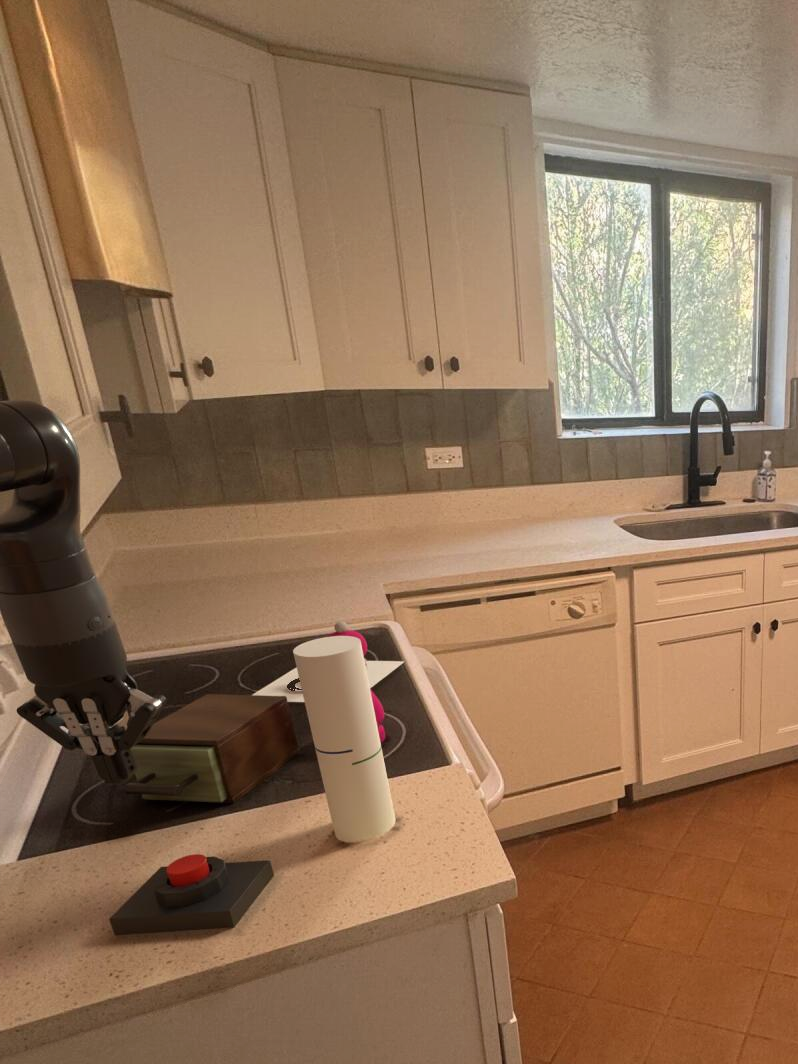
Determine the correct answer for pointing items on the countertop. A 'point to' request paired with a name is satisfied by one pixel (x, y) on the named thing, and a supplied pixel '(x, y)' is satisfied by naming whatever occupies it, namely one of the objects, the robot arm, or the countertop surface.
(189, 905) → the control block
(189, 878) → the button
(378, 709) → the pepper mill
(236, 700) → the cabinet
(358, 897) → the countertop surface
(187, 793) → the drawer
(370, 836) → the cylindrical container
